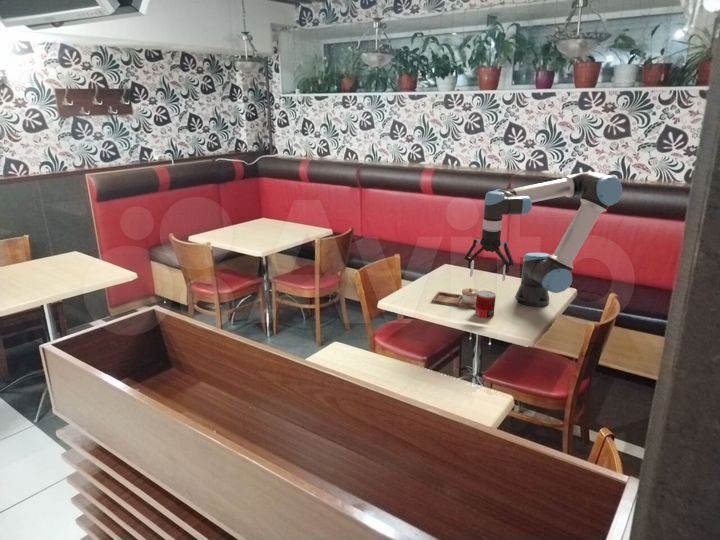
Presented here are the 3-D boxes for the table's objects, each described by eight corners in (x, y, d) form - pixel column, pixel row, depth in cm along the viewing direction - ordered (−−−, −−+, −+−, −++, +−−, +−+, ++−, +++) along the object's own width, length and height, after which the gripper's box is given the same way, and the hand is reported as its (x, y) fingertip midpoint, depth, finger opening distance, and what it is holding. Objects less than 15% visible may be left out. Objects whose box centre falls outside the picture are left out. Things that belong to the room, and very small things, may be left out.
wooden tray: (484, 303, 249) (484, 298, 248) (479, 312, 239) (479, 307, 238) (438, 296, 257) (438, 291, 256) (431, 304, 247) (431, 299, 246)
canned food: (490, 322, 229) (492, 298, 225) (472, 318, 233) (474, 294, 229) (496, 316, 235) (498, 292, 231) (478, 312, 239) (480, 289, 235)
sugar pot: (479, 301, 248) (480, 286, 245) (476, 307, 241) (477, 292, 239) (463, 299, 250) (464, 284, 248) (459, 304, 244) (460, 289, 241)
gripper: (524, 230, 220) (518, 279, 227) (463, 224, 229) (460, 271, 236) (521, 234, 213) (516, 284, 220) (459, 228, 222) (456, 276, 229)
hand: (487, 278), depth 228 cm, fingers open, 13 cm apart
